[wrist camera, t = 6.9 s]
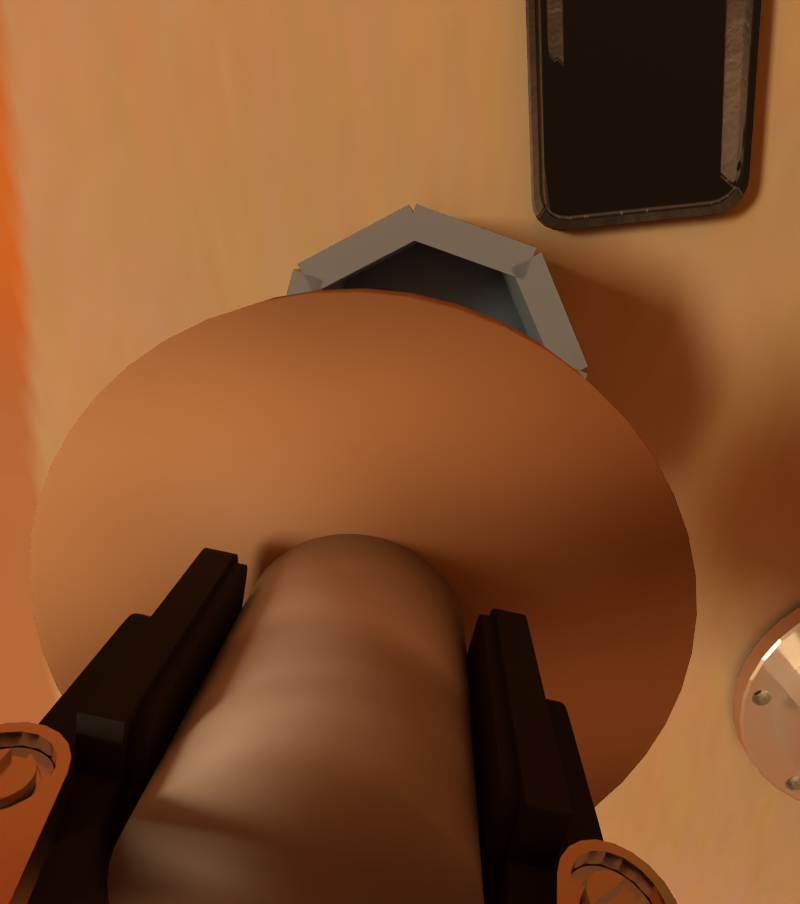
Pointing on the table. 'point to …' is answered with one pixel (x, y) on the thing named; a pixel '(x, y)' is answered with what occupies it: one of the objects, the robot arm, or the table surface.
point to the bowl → (449, 273)
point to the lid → (359, 585)
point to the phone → (639, 108)
